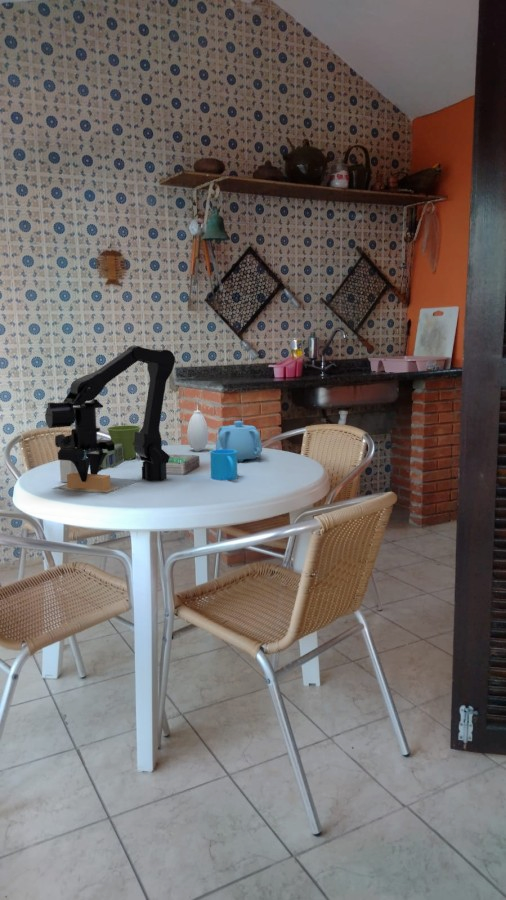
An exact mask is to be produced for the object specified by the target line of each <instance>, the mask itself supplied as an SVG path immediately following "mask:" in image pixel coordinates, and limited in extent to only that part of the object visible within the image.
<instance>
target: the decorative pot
mask: <svg viewBox="0 0 506 900" xmlns="http://www.w3.org/2000/svg"><path fill="white" fill-rule="evenodd" d="M217 430H218V431H217V434H218V436H217V438H216V442H215V450H219V449H230V450H236V451H237V463H244V460H256V458H257V457H260V456H261V453H262V451H263V443H262V440H261V434H260V432H259V430H258V429H257V427H256V426H254V425H250V424H249V425H247V424H244V420H234V421H233V424H229V425H222V426H220V427H219V428H218V429H217Z"/></svg>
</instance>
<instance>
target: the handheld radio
mask: <svg viewBox="0 0 506 900" xmlns="http://www.w3.org/2000/svg"><path fill="white" fill-rule="evenodd" d="M114 447H115V450H112V451H107V449H102V450H103V453H107V455H106V456H105V458H104V460H103V462H102V464H101V466H100V469H99V471H98V473H99V472H101V471H103V470H107V469H109V468H110V469H112V468H115V467H117V466H118V465H120V464H121V463H123V462H124V460H125V459H124V457H123V444H122V443H118V444H115V445H114ZM119 463H120V464H119ZM114 466H115V467H114Z"/></svg>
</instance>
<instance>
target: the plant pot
mask: <svg viewBox="0 0 506 900" xmlns="http://www.w3.org/2000/svg"><path fill="white" fill-rule="evenodd" d="M140 429H141V426H139V425H136V424H135V425H134V424H132V425H131V424H128V425H127V424H122V425H114V426H109V427H107V428H106V430H107V431H108V435H109V437H110V440H112V441H113V443H114V445H115V444H118V443H122V444H123V457H124V460H125V461H128V459H129V460H133V459H135V458H136V455H137V453H136V452H135V450H134V445H133V442H134V438H135V432H140Z"/></svg>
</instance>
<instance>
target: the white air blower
mask: <svg viewBox="0 0 506 900" xmlns="http://www.w3.org/2000/svg"><path fill="white" fill-rule="evenodd" d="M198 407H199V405H198V404H197V403H196V410H194V411H193V414H192V415H191V416H190V419H189V422H188V425H187V432H186V433H187V437H186V438H187V441H188V445H189V446H190V448H191V449H192V450H193V451H195V452H202V450H204V448H206V447H207V445H208V441H209V428H208V423H207V421H206V419H205V417H204V414H202V412H201V410H199V408H198Z"/></svg>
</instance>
